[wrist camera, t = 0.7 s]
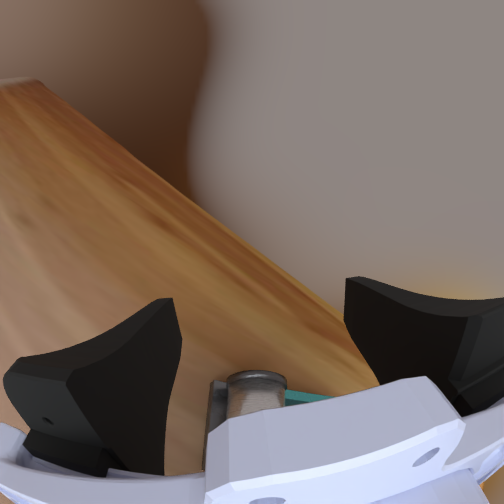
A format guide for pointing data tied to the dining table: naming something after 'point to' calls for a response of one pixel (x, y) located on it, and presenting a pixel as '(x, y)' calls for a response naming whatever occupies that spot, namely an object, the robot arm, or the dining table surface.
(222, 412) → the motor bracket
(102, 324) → the dining table surface
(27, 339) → the dining table surface
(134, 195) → the dining table surface
